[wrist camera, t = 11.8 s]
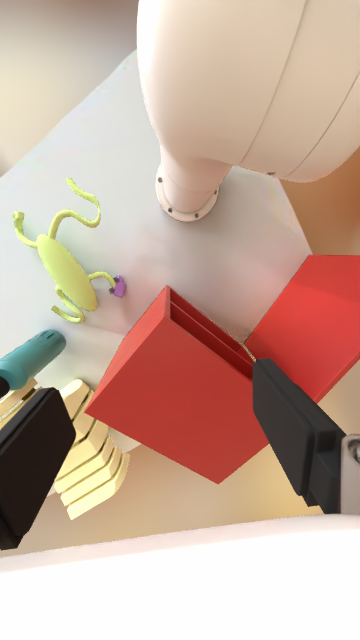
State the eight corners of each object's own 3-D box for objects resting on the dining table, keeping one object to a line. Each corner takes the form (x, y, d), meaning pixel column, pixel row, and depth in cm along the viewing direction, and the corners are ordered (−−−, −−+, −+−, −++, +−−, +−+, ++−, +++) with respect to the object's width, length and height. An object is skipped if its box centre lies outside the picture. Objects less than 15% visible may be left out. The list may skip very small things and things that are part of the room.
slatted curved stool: (136, 421, 58) (123, 488, 42) (98, 446, 61) (71, 520, 44) (58, 351, 50) (1, 402, 33) (17, 384, 52) (-55, 447, 35)
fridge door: (330, 269, 46) (481, 285, 24) (263, 355, 53) (332, 429, 31) (309, 254, 45) (448, 256, 22) (243, 344, 52) (300, 414, 29)
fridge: (166, 284, 46) (163, 316, 23) (243, 346, 52) (299, 419, 29) (122, 339, 50) (83, 412, 27) (198, 390, 56) (218, 484, 33)
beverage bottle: (65, 325, 48) (-3, 372, 29) (73, 349, 50) (14, 408, 31) (38, 327, 47) (-48, 377, 29) (47, 351, 50) (-28, 412, 31)
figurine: (98, 181, 38) (87, 169, 33) (136, 308, 47) (132, 315, 42) (9, 202, 39) (-17, 194, 33) (63, 324, 47) (50, 333, 42)
